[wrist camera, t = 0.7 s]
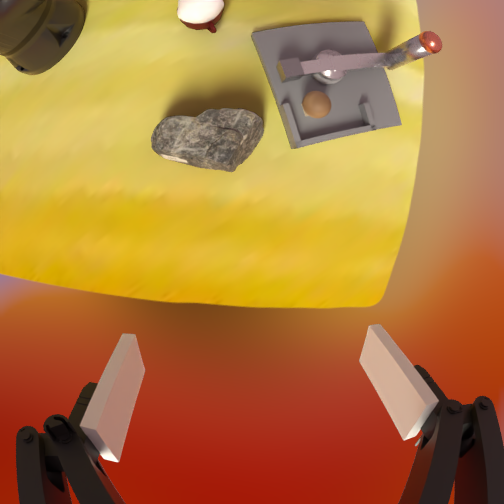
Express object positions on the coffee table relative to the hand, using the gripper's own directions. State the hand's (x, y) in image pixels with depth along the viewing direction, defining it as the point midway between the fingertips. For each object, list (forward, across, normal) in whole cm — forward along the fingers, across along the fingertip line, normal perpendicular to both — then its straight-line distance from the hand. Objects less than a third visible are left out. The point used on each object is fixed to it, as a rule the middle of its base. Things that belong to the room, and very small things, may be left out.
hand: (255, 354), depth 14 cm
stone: (+27, -4, +12) cm, 30 cm away
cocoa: (+27, -6, +33) cm, 42 cm away
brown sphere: (+22, +9, +17) cm, 29 cm away
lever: (+23, +14, +24) cm, 36 cm away
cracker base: (+26, +13, +23) cm, 37 cm away
